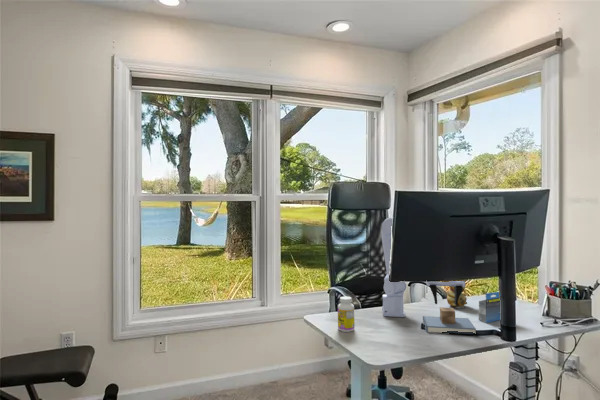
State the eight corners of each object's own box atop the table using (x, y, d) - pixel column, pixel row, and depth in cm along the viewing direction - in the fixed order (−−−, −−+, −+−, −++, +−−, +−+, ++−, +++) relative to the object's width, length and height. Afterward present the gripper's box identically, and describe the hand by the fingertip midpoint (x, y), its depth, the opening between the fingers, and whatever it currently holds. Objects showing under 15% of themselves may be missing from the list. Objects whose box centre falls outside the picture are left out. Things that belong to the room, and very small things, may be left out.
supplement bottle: (335, 328, 150) (334, 296, 151) (349, 326, 153) (349, 295, 153) (342, 333, 144) (342, 300, 144) (357, 331, 146) (357, 298, 147)
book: (426, 332, 144) (426, 326, 144) (422, 322, 157) (422, 316, 157) (476, 335, 140) (475, 328, 140) (468, 324, 153) (468, 318, 153)
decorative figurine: (456, 310, 173) (455, 278, 173) (442, 305, 180) (441, 275, 180) (469, 306, 177) (469, 275, 178) (455, 303, 185) (454, 273, 185)
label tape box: (493, 317, 161) (492, 289, 161) (501, 320, 157) (500, 291, 157) (478, 320, 157) (477, 291, 157) (486, 323, 153) (486, 293, 153)
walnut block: (442, 323, 147) (441, 310, 147) (440, 319, 152) (439, 307, 152) (455, 324, 146) (455, 311, 146) (452, 320, 151) (452, 307, 151)
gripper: (427, 271, 147) (428, 305, 147) (466, 272, 144) (467, 307, 144) (425, 268, 154) (426, 301, 154) (462, 269, 151) (463, 302, 151)
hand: (445, 303), depth 150 cm, fingers open, 7 cm apart
